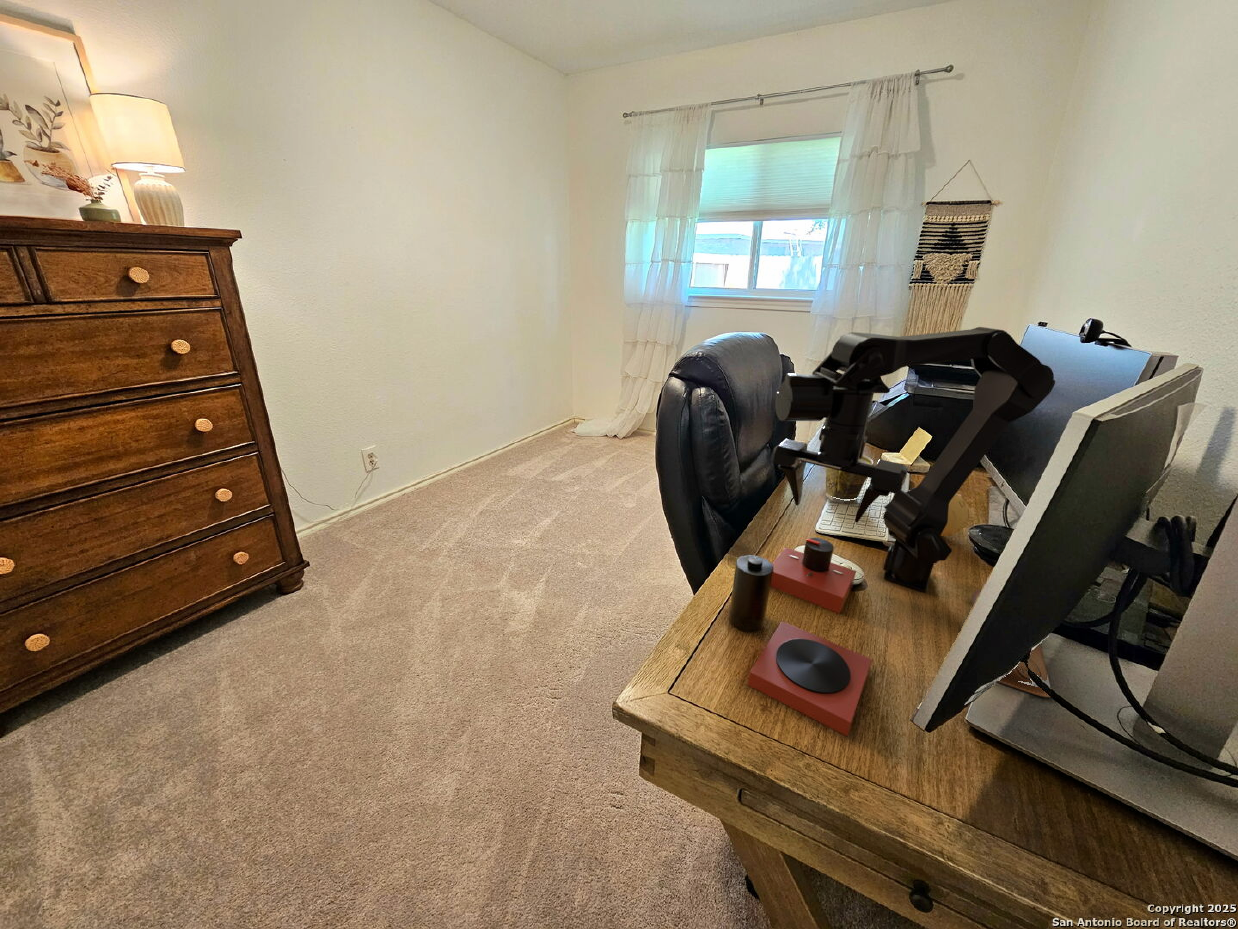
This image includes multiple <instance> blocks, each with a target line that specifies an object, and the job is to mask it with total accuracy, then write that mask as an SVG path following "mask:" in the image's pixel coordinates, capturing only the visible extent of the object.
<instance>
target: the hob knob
mask: <svg viewBox="0 0 1238 929" xmlns="http://www.w3.org/2000/svg"><path fill="white" fill-rule="evenodd" d="M834 549H835V547H834V544H833V543H832V542H830V541H829V540H827V539H825V538H820V537H810V538H808V537H807V538H806V540H805V544H804V548H803V552H802V553H803V558H802V564H803V565H804V566H805V567H806V568H807V569H809V570H812V571H815V572H826V571H828V570H829V568H830V563H832V558H833V553H834Z"/></svg>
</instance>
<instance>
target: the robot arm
mask: <svg viewBox="0 0 1238 929" xmlns="http://www.w3.org/2000/svg"><path fill="white" fill-rule="evenodd" d="M1015 340H1016V339H1014V338H1013V337H1012V335H1010V333H1008V332H1007V331H1005V330H1004V329H999V328H998V329H997V328H991V327H985V326H977V327H974V328H971V329H963V330H953V331H945V332H944V331H942V332H932V333H922V334H913V335H912V334H911V335H903V336H902V335H901V336H895V335H886V334H876V333H866V332H856V331H854V332H853V331H852V332H851V331H850V332H847V333H844V334H842V335H840V338H839V339H838V340H837V341H836V342H835V344H834V345H833V347H832V350H831V351H830V353H829V354H828V355H827V356H826V357H825V358H824V359H823V361H821V362H820V364H819V365H817V367H816V368H815V369H814V370H813V371H812V373H811V374H797V373H786V374H785V378H784V381H783V382H781V384H780V386H779V388H778V391H777V392H776V393H775V400H774V406H775V413H776V416H777V418H778V420H779V421H781V422H820V421H822V420H824V422H823V424H822V427H821V428H820V433H819V435H818V440H819V441H820V443H819V450H818V452H815V451H811V450H808V443H806V442H802V441H799V440H792V439H788V438H785V439H784V440H783V441H782V442H780V443H779V444H778V445H776V446H775V447H774V448H773V450H772V452H771V459H770V462H771V463H772V464H774V465H778V470H779V471H783V473H784V475H785V478H786V480H787V482H788V484H789V487H790V491H791V494H792V497H793V502H794V505H795V506H797V507H798V506H799V505H800V504H801V500H802V496H803V486H804V475H805V474H804V473H805V469H806V465H807V464H810V465H815V466H818V467H823V468H826V467H827V468H831V469H835V470H839V471H844V472H848V473H852V474H856V475H860V476H865V477H867V478H869V479H870V482H869V484H868V485H867V486H866V489H865V491H864V493H863V497H862V499H861V501H860V503H859V506H858V508H857V511H856V514H855V518H854V523H857V524H858V523H859V521H860V520H861V519H862V517H863V515H864V514H865V513H866V511H867V510H868V508H870V506H871V505H872V504H873V503H874V502H875V501H876V500H877V499H878V498H879V497H880V496H882V497H888V496H889V495H890V493H891V494H894V495H893V497H892V498H891V500H890V501H889V502H888V503H887V504H886V505H885V506H884V507H883V508H884V510H885V511H884V513H883V516H882V520H883V522H884V526H885V527H886V528H887V532H888V533H887V534H888V535H889V536H890V537H892V538H893V539H894V542H893V544H890V545H889V547H888V550H887V554H886V556H885V560H884V563H883V567H882V570H883V571H884V574H883V579H884V580H885V581H889V582H892V583H896V584H898V585H900V586H904V587H907V588H910V589H913V590H916V591H919V592H922V593H927V591H928V588H929V584H930V579H931V575H932V572H933V568H934V565H935V564H937V563H938V562H939V561H941V562H942V561H946V560H947V559H948V557H949V556H950V555H951V553H953V549H952V547H951V546H950V545H949V544H948V542H947V541H946V540H945V539H944V538H943V536H941V534H942V532H943V530H944V528H945V526H946V525H947V522H948V509H949V503H950V501H951V499H952V498H953V497H954V495H955V494H956V493H957V494H958V492H959V490H960V489H961V488H962V486H963V485H964V484H965V482H966V481H967V479H968V478H969V477H970V476H971V474H972V473H973V472H974V470H975V469H976V468H977V466H978V465H979V463H980V462H981V461H982V460H983V458H984V457H985V455H986V454H987V453H988V452H989V450H990V449H991V447H992V446H993V445H994V443H995V442H996V441H997V439H998V438H999V437H1000V436H1001V435H1002V433H1003V432H1004V430H1005V429H1006V427H1007V426H1009V424H1010V423H1013V422H1014V421H1017V420H1018V419H1021V418H1022V417H1025V416H1026V415H1028V414H1029V413H1032V412H1033V411H1034V410H1035V409H1036V408H1037V407H1038V406H1039V405H1040V404H1041V403H1042V402H1043V401H1044V400H1045V399H1046V398H1047V397H1048V396H1049V395H1050V393H1051V392H1052V391H1053V389H1054V387H1055V385H1056V380H1055V374H1054V371H1053V369H1052V368H1051V367H1050V366H1049V365H1048V364H1047V365H1046V364H1043V363H1042V362H1041V360H1040V359H1039V358H1038V357H1037V356H1035V355H1034V354H1032V353H1031V352H1030V351H1028V350H1027V349H1025V347H1023V346H1021V345H1020V344H1019V343H1017V341H1015ZM966 360H969V361H970V363H971V368H972V369H973V370H974V371H975V372H976V373H977V375H979V377H980V378H979V380H978V381H977V384H976V385H975V387H974V391H973V393H974V394H973V405H972V406H973V407H972V409H971V411H970V413H969V414H968V415H967V417H966V418H965V420H964V421H963V423H962V424H961V425H960V427H958V428H957V431H956V432H955V433H954V435H953V436H952V438H951V439H950V440H949V442H948V443H947V444H946V446H945V448H944V449H943V450H942V451H941V453H940V455H938V458H936V460H935V461H934V463H933V464H932V466H931V467H930V468H929V470H928V471H927V473H926V474H925V476H924V477H923V478H922V480H921V481H920V483H918V485H917V486H915V487H913V488H911V489H909V490H908V491H904V490H903V489H902V488H903V486H904V484H905V482H906V479H907V475H908V467H907V466H906V464H903V463H899V462H894V461H890V460H886V459H881V458H880V459H879V460H878V462H877V463H876V465H875V464H874V465H870V464H865V463H861V462H858V460H859V459H861V458H862V456H863V455H864V451H865V448H866V444H867V440H868V436H866V434H865V433H866V429H867V424H868V421H869V415H870V412H871V407H872V403H873V400H874V394H889V393H890V392H891V389H890V387H889V386H888V385H886V384H885V382H884V381H883V378H882V377H884V376H888V375H891V374H894V373H896V372H898V371H899V370H900V369H903V368H906V367H910V366H918V365H920V366H921V365H928V364H938V363H948V362H949V363H950V362H958V361H966ZM839 371H841V372H843V373H841V372H839Z"/></svg>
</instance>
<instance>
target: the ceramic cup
mask: <svg viewBox="0 0 1238 929" xmlns="http://www.w3.org/2000/svg"><path fill="white" fill-rule="evenodd" d="M858 462H861V463H865V464H870V465H874V466H875V461H874V460H873V459H872V458H871V457H869V456H867V455H865V454H863V456H862V458H861V459H859V460H858ZM867 479H868V477H865V476H860V475H856V474H852V473H848V472H844V471H839V470H835V469H831V468H827V467H825V497H827V498H828V499H829V500H830V501H832V502H833V503H837V504H842V505H852V504H855V503H856V501H858V498H857V497H859V496H860V494H861V491H862V489H863V487H864V485H865V483H866V481H867ZM831 496H832V497H831ZM833 497H836V498H840V499H854V498H857V499H856V500H850V501H844V500H840V499H836V498H833Z"/></svg>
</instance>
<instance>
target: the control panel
mask: <svg viewBox="0 0 1238 929" xmlns="http://www.w3.org/2000/svg"><path fill="white" fill-rule="evenodd" d="M803 553H804V552H802V551H798V550H795V549H792V548H789V547H786V546H785V547H784V548H783V549H782V550H781V552H780V553H779V555H777V557H776V558H775V560H774V561H773V562H771V564H772V565H773V575H772V581H771V587H770V588H773V589H775V590H778V591H781V592H783V593H785V594H788V595H791V596H793V597H795V598H798V599H801V600H804V601H807V602H809V603H811V604H814V605H816V606H819V607H820V608H821V607H822V608H824V609H826V610H829V611H831V612H834V613H836V614H841V612H842V609H843V608H844V605H845V603H846V601H847V599H848V597H849V595H850V593H851V591H852V589H853V586H854V583H855V579H854V578H856V574H857V570H855V569H851V568H848V567H845V566H842V565H839V564H837V563H834V562H831V563H830V568H829V570H828V571H826V572H815V571H812V570H809V569H807V568H806V567H805V566H804V565H803V564H802V558H803ZM853 581H854V582H853Z"/></svg>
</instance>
